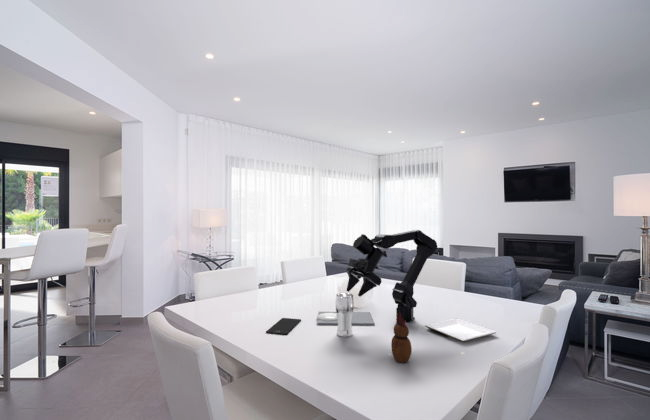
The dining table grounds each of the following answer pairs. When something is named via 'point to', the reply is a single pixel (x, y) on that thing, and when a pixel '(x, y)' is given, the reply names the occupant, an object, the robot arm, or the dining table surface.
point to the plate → (460, 329)
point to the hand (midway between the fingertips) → (353, 293)
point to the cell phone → (283, 326)
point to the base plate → (357, 318)
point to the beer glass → (344, 314)
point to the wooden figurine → (401, 341)
